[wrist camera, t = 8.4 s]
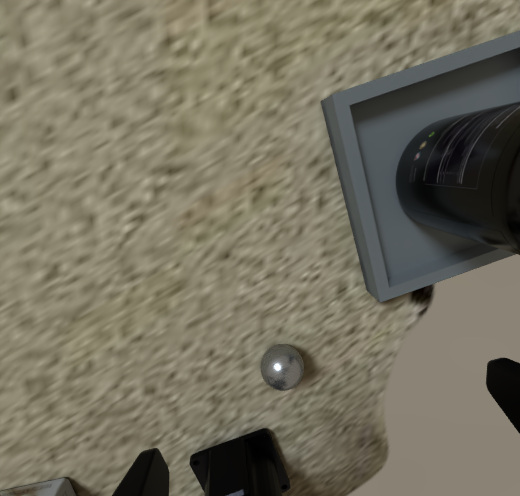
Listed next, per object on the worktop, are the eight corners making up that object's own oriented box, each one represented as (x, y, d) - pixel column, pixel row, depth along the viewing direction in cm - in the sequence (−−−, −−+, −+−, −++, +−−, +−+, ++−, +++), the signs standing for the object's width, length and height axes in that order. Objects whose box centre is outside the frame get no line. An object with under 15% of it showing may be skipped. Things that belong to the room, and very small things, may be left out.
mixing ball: (303, 363, 23) (314, 391, 20) (265, 377, 23) (271, 407, 20) (291, 330, 22) (302, 354, 20) (252, 344, 22) (257, 370, 20)
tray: (534, 230, 23) (563, 237, 21) (366, 290, 22) (380, 302, 20) (522, 32, 19) (556, 18, 17) (320, 101, 19) (331, 94, 17)
